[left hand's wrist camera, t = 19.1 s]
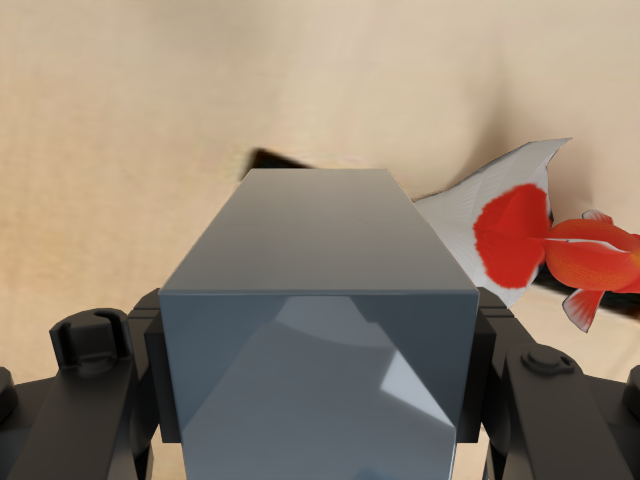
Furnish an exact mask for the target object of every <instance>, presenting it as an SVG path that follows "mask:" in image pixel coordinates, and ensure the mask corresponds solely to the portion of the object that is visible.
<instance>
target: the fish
mask: <svg viewBox="0 0 640 480" xmlns="http://www.w3.org/2000/svg"><path fill="white" fill-rule="evenodd" d="M571 139H572V138H565V139H556V140H546V141H536V142H529V143H527V144H525V145H523V146H521V147H519V148H517V149H515V150H513V151H511V152H509V153H507V154H505V155H503V156H501V157H499V158H497V159H495V160H493V161H491V162H489V163H488V164H486V165H485V166H483V167H482V168H480V169H479V170H477V171H476V172H475V173H473V174H472V175H470V176H469V177H467V178H465V179H464V180H462V181H461V182H459V183H458V184H456V185H454V186H453V187H451V188H450V189H448V190H446V191H443V192H440V193H437V194H434V195H431V196H428V197H425V198H423V199H420V200H417V201H415V202H413V203H414V205H415V206H416V207H417V209H418V210H419V211H420V213H421V214H422V215H423V217H424V218H425V219H426V221H427V222H428V223H429V225H430V226H431V227H432V229H433V230H434V231H435V233H436V234H437V235H438V237H439V238H440V239H441V241H442V242H443V243H444V245H445V246H446V247H447V249H448V250H449V251H450V253H451V254H452V255H453V257H454V258H455V259H456V261H457V262H458V263H459V265H460V266H461V267H462V269H463V270H464V271H465V273H466V274H467V275H468V277H469V278H470V279H471V280H472V282H473V283H474V284H475V286H476V287H484V288H486V289H488V290H489V291H491V292H493V293H494V294H496V295H498V296H499V297H500V299H501V300H502V301H503V302H504V304H505V305H506V306H507V309H509V308H510V307H511V306H512V305H513V304H514V303H515V302H516V301H517V300H518V299H519V298H520V297H521V296H522V294H523V293H524V292H525V291H526V289H527V288H528V287H529V285H530V284H531V283H532V281H533V280H534V279H535V277H536V276H537V275H538V273H539V272H540V270H541V269H542V268H543V266H544V261H545V260H546V263H547V265H548V268H549V270H550V272H551V273H552V275H553V276H554V277H555V278H556V279H557V280H559V281H560V282H562V283H563V284H565V285H567V286H570V287H574V288H578V289H576V290H575V291H574V292H573V293H572V294H570V295H569V296H568V297H567V298H566V299H565V300H564V301H563V303H562V306H563V309H564V311H565V313H566V314H567V316H568V318H569V320H570V321H572V322H573V323H574V324H575V325H576V326H577V327H578V328H579V329H580V330H582V331H584V332H585V333H587V332H588V329H589V328H590V326H591V324H592V321H593V319H594V316H595V313H596V311H597V308H598V306H599V303H600V300H601V298H602V296H603V294H604V292H605V291H608V290H611V291H612V292H617V293H629V292H630V293H640V235H637V234H629V233H627V232H626V231H624V230H622V229H620V228H618V227H616V226H614V225H613V220H612V218H611V217H609V216H607V215H605V214H603V213H601V212H599V211H597V210H589V211H587V212H585V213H583V214H582V218H583V219H571V220H566V221H564V222H562V223H560V224H558V225H556V226H555V227H553V228H552V229H551V227H552V224H553V221H554V219H553V214H552V210H551V205H550V201H549V196H548V175H547V164H548V163H549V161H550V160H551V159H552V157H553V156H554V154H555V153H556V152H557V150H558V149H559V148H560V147H561V146H562V145H563V144H564V143H566V142H567V141H569V140H571ZM550 229H551V230H550Z"/></svg>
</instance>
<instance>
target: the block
mask: <svg viewBox="0 0 640 480" xmlns="http://www.w3.org/2000/svg"><path fill="white" fill-rule="evenodd" d="M158 296H159V303H160V309H161V316H162V322H163V329H164V335H165V342H166V348H167V355H168V361H169V368H170V374H171V381H172V387H173V393H174V400H175V406H176V413H177V419H178V426H179V432H180V439H181V445H182V452H183V458H184V465H185V471H186V478H187V480H451V479H452V473H453V466H454V460H455V453H456V447H457V440H458V434H459V427H460V421H461V414H462V407H463V401H464V394H465V388H466V381H467V375H468V368H469V362H470V355H471V349H472V342H473V336H474V329H475V322H476V316H477V309H478V303H479V296H480V292H479V290H478V288H477V287H476V286H475V284H474V283H473V282H472V280H471V279H470V278H469V277H468V275H467V274H466V273H465V271H464V270H463V269H462V267H461V266H460V265H459V263H458V262H457V261H456V259H455V258H454V257H453V255H452V254H451V253H450V251H449V250H448V249H447V247H446V246H445V245H444V243H443V242H442V241H441V239H440V238H439V237H438V235H437V234H436V233H435V231H434V230H433V229H432V227H431V226H430V225H429V223H428V222H427V221H426V219H425V218H424V217H423V215H422V214H421V213H420V211H419V210H418V209H417V207H416V206H415V205H414V203H413V202H412V201H411V200H410V198H409V197H408V196H407V194H406V193H405V192H404V190H403V189H402V188H401V186H400V185H399V184H398V182H397V181H396V180H395V178H394V177H393V176H392V174H391V173H390V172H389V170H388V169H251V170H250V171H249V173H248V174H247V175H246V177H245V178H244V179H243V181H242V182H241V183H240V185H239V186H238V187H237V189H236V190H235V191H234V193H233V194H232V195H231V196H230V198H229V199H228V200H227V202H226V203H225V204H224V206H223V207H222V208H221V210H220V211H219V212H218V214H217V215H216V216H215V217H214V219H213V220H212V221H211V223H210V224H209V225H208V227H207V228H206V229H205V231H204V232H203V233H202V235H201V236H200V237H199V239H198V240H197V241H196V242H195V244H194V245H193V246H192V248H191V249H190V250H189V252H188V253H187V254H186V256H185V257H184V258H183V260H182V261H181V262H180V264H179V265H178V266H177V267H176V269H175V270H174V271H173V273H172V274H171V275H170V277H169V278H168V279H167V281H166V282H165V283H164V285H163V286H162V287H161V289H160V290H159V292H158Z"/></svg>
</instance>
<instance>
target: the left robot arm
mask: <svg viewBox="0 0 640 480" xmlns="http://www.w3.org/2000/svg"><path fill="white" fill-rule="evenodd" d="M477 288H478V290H479V292H480V296H479V303H478V309H477V316H476V322H475V329H474V336H473V342H472V349H471V355H470V362H469V368H468V375H467V381H466V388H465V394H464V401H463V407H462V414H461V421H460V427H459V434H458V440H457V443H478V438H479V432H480V427H481V422H482V424H483V426H484V428H485V430H486V432H487V434H488V436H489V439H490V440H489V445H488V451H487V456H486V461H485V466H484V472H483V477H482V480H488V479H489V480H640V365H637V366H636V367H634V368H633V369H631V371H630V374H629V377H628V380H627V383H622V382H617V381H612V380H607V379H602V378H597V377H592V376H588V375H585V374H583V372H582V369H581V368H580V366H579V365H578V364H577V363H576V361H575V360H574V359H572V358H571V357H569V356H568V355H567V354H565V353H564V352H562V351H559V350H557V349H555V348H552V347H550V346H546V345H542V344H537V343H536V341H535V340H534V339H533V338H532V337H531V335H530V334H529V333H528V332H527V330H526V329H525V328H524V327H523V326H522V324H521V323H520V322H519V321H518V319H517V318H514V315H513V313H512V312H511V311H510V310H509V309H507V306H506V305H505V304H504V302H503V301H502V300H501V299H500V297H499V296H498V295H496V294H494V293H493V292H491V291H489V290H488V289H486V288H484V287H477ZM160 289H161V288H157V289H155V290H153V291H152V292H150V293H148V294H147V295H145V296H144V297H142V298H141V299H140V301H139V302H138V303H137V304H136V306H135V307H134V310H132V311H131V312H130V313H129V314H128V315H127V314H125V313H124V312H123V311H121V310H118V309H113V308H96V309H91V310H87V311H82V312H79V313H76V314H74V315H71V316H68V317H67V318H65V319H63V320H61V321H60V322H58V323H56V324H55V325H54V327H53V328H52V329H51V330H50V331H49V333H50V337H51V340H52V344H53V348H54V352H55V355H56V359H57V363H58V366H59V370H58V372H57V374H56V376H55V377H51V378H47V379H42V380H37V381H32V382H27V383H22V384H17V385H14V382H13V379H12V376H11V373H10V371H8V370H7V369H6V368H4V367H0V480H151V477H152V469H153V460H154V457H153V451H152V445H151V439H152V437H153V435H154V433H155V431H156V429H157V426H158V424H159V425H160V431H161V436H162V442H163V443H181V439H180V432H179V426H178V419H177V413H176V406H175V400H174V393H173V387H172V381H171V374H170V368H169V361H168V355H167V348H166V342H165V335H164V329H163V322H162V316H161V309H160V303H159V296H158V292H159V290H160Z"/></svg>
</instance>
